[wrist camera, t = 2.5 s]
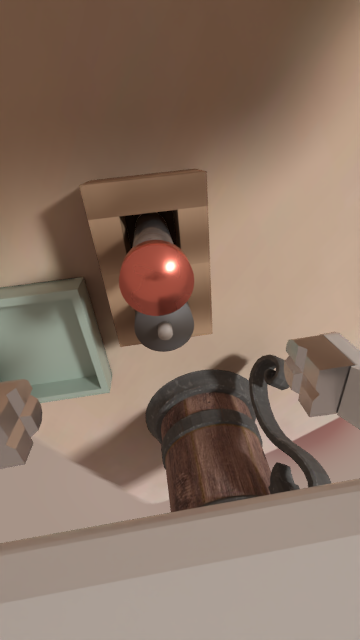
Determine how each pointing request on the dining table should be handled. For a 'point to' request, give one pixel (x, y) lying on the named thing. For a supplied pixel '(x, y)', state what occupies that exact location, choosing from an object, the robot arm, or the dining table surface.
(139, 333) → the block
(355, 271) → the dining table surface
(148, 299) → the lock pin
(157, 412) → the tankard
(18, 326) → the tray
